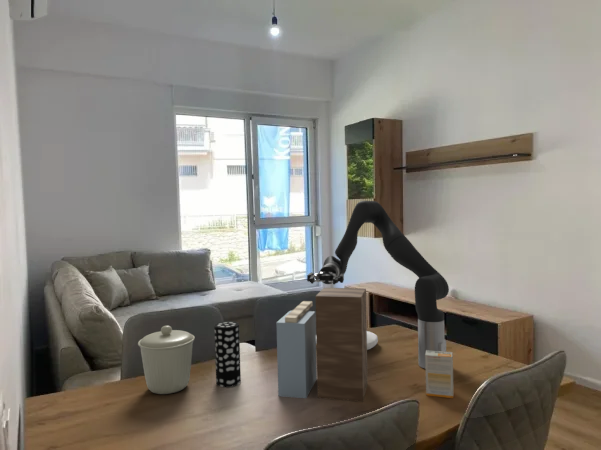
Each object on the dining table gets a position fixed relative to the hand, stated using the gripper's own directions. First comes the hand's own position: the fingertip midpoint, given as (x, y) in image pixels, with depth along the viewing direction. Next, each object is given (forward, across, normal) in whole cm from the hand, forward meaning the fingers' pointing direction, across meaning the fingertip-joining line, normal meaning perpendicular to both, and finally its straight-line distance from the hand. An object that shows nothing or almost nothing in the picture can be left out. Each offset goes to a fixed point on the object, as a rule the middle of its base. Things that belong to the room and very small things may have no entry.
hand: (322, 281), depth 173 cm
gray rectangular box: (+28, -4, +30) cm, 41 cm away
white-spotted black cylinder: (+28, -28, +30) cm, 50 cm away
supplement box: (+26, +41, +29) cm, 57 cm away
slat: (+22, -4, +6) cm, 23 cm away
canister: (+35, -46, +31) cm, 66 cm away
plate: (-18, +7, +32) cm, 37 cm away
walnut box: (+28, +11, +29) cm, 42 cm away
